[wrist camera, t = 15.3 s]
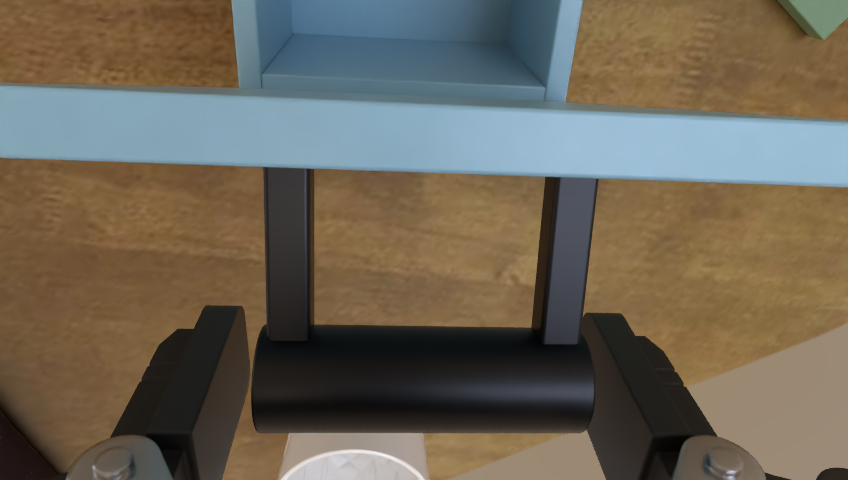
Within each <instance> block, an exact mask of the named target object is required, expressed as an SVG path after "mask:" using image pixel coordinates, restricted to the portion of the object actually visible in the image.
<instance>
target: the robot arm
mask: <svg viewBox="0 0 848 480" xmlns="http://www.w3.org/2000/svg"><path fill="white" fill-rule="evenodd" d="M581 332H582V333H583V335H584V336H585V338H586V340H587V342H588V344H589V347H590V350H591V354H592V359H593V364H594V371H595V386H596V392H595V405H594V412H593V416H592V419H591V422H590V425H589V427H588V428H587V432H588V434H589V437H590V439H591V442H592V444H593V447H594V450H595V452H596V455H597V457H598V460H599V462H600V465H601V468H602V470H603V473H604V475H605V478H606V480H790V479H786V478H782V477H778V476H774V475H771V474H768V473H765V472H764V471H763V469H762V467H761V466H760V464H759V463H758V461H757V460H756V459H755V458H754V457H753V456H752V455H750V453H748V452H747V451H746V450H744V449H743V448H741V447H740V446H738V445H737V444H735V443H733V442H731V441H729V440H726V439H723V438H720V437H717V435H716V433H715V432H714V430H713V429H712V427H711V426H710V424H709V422H708V421H707V420H706V418H705V416H704V415H703V413H702V411H701V410H700V408H699V407H698V405H697V403H696V402H695V400H694V399H693V397H692V396H691V394H690V393H689V391H688V389H687V388H686V387H684V385H683V384H684V383H683V381H682V380H681V378H680V377H679V375H678V374H677V372H675V371H674V367H673V366H672V364H671V362H670V361H669V359H668V358H667V356H666V355H665V353H664V351H662V350H661V349H660V348H659V347H657V346H656V345H655V344H654V343H652V342H651V341H650V340H649V339H648V338H646V337H645V336H635V335H634V333H633V331H632V330H631V328H630V326H629V325H628V323H627V321H626V320H625V318H624V316H623V315H622V314H620V313H586V314H585V315H584V316H583V319H582V326H581ZM249 377H250V360H249V351H248V341H247V331H246V322H245V313H244V309H243V307H242V306H210V305H206V306H205V307H204V308H203V310H202V312H201V315H200V317H199V319H198V321H197V323H196V325H195V328H194V329H177V330H176V331H175V332H174V333H173V334H171V335H170V336H169V337H168V338H167V339H165V340H164V341H163V342H162V343H161V344H159V346H158V348H157V350H156V352H155V354H154V356H153V358H152V359H151V361H150V366H148V367H147V369H146V371H145V373H144V375H143V377H142V381H141V382H139V384H138V386H137V388H136V390H135V392H134V394H133V395H132V397H131V399H130V401H129V403H128V405H127V407H126V409H125V411H124V412H123V414H122V416H121V418H120V420H119V422H118V424H117V426H116V428H115V430H114V431H113V433H112V435H111V437H110V438H109V439H106V440H104V441H101V442H99V443H97V444H95V445H94V446H92V447H90V448H89V449H87V450H86V451H85V452H83V453H82V454H81V455H80V456H79V457H78V458H77V459H76V460H75V461H74V463H73V464H72V466H71V467H70V469H69V471H68V472H66V473H63V474H61V475H57V476H54V477H50V478H46V479H42V480H222V477H223V473H224V470H225V466H226V463H227V459H228V456H229V453H230V449H231V446H232V442H233V439H234V435H235V432H236V429H237V425H238V422H239V418H240V415H241V411H242V408H243V405H244V401H245V398H246V394H247V391H248V385H249ZM0 480H4V479H3V477H2V476H0ZM816 480H848V469H845V468H829V469H826V470H824V471H822V472H821V473H820V474H819V476H818V477H817V479H816Z"/></svg>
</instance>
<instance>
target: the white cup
mask: <svg viewBox="0 0 848 480" xmlns="http://www.w3.org/2000/svg"><path fill="white" fill-rule="evenodd" d="M277 480H430V479H429V471H428V463H427V455H426V447H425V438H424V433H289V434H288V438H287V443H286V447H285V451H284V455H283V459H282V463H281V467H280V471H279V475H278V479H277Z"/></svg>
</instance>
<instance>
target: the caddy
mask: <svg viewBox="0 0 848 480" xmlns="http://www.w3.org/2000/svg"><path fill="white" fill-rule="evenodd" d="M231 2H232V14H233V25H234V36H235V47H236V59H237V70H238V81H239V88H259V89H282V90H304V91H327V92H349V93H372V94H394V95H416V96H439V97H461V98H484V99H506V100H529V101H551V102H565V100H566V95H567V89H568V83H569V77H570V72H571V66H572V60H573V55H574V49H575V43H576V37H577V32H578V26H579V20H580V15H581V9H582V3H583V0H231Z"/></svg>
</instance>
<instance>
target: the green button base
mask: <svg viewBox="0 0 848 480" xmlns="http://www.w3.org/2000/svg"><path fill="white" fill-rule="evenodd" d="M777 1H778V2H779V3H780V4H781V5H782V6H783V8H784V9H785V10H786V11H787V12H788V13H789V14H790V16H791V17H792V18H793V19H794V20H795V21H796V22H797V23H798V25H799V26H800V27H801V28H802V29H803V30H804V31H805V33H806V34H807V35H808V36H810V37H813V38H817V39H820V40H825V39H826V38H827V37H828V36H829V35H830V34H831V33H832V32H833V31H834V30H835V29H836V28H837V27H838V26H839V25H841V24H842V23H843V22H844V21H845V20H846V19H847V18H848V0H777Z"/></svg>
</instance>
